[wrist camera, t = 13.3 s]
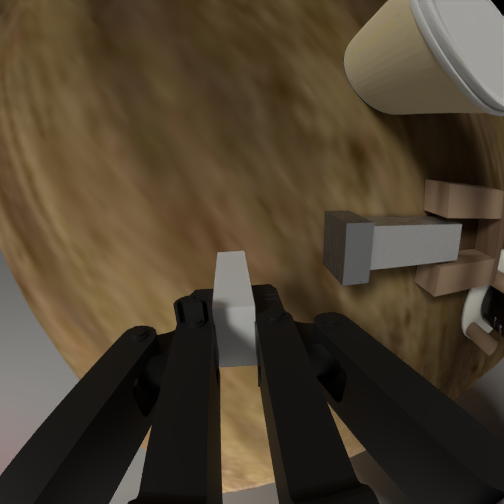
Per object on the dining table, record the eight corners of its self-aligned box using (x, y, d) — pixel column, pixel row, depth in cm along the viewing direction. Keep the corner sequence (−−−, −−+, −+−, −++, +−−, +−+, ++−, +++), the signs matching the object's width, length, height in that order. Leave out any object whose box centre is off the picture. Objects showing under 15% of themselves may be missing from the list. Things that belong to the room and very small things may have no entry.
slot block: (414, 281, 24) (434, 296, 20) (425, 179, 20) (449, 183, 17) (475, 271, 24) (494, 282, 21) (487, 186, 21) (508, 192, 18)
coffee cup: (435, 71, 17) (530, 50, 6) (406, 146, 19) (521, 152, 8) (356, 9, 15) (431, -57, 4) (314, 81, 18) (401, 14, 6)
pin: (323, 263, 22) (342, 285, 18) (324, 211, 20) (346, 223, 16) (435, 253, 22) (462, 269, 19) (440, 210, 21) (470, 221, 17)
